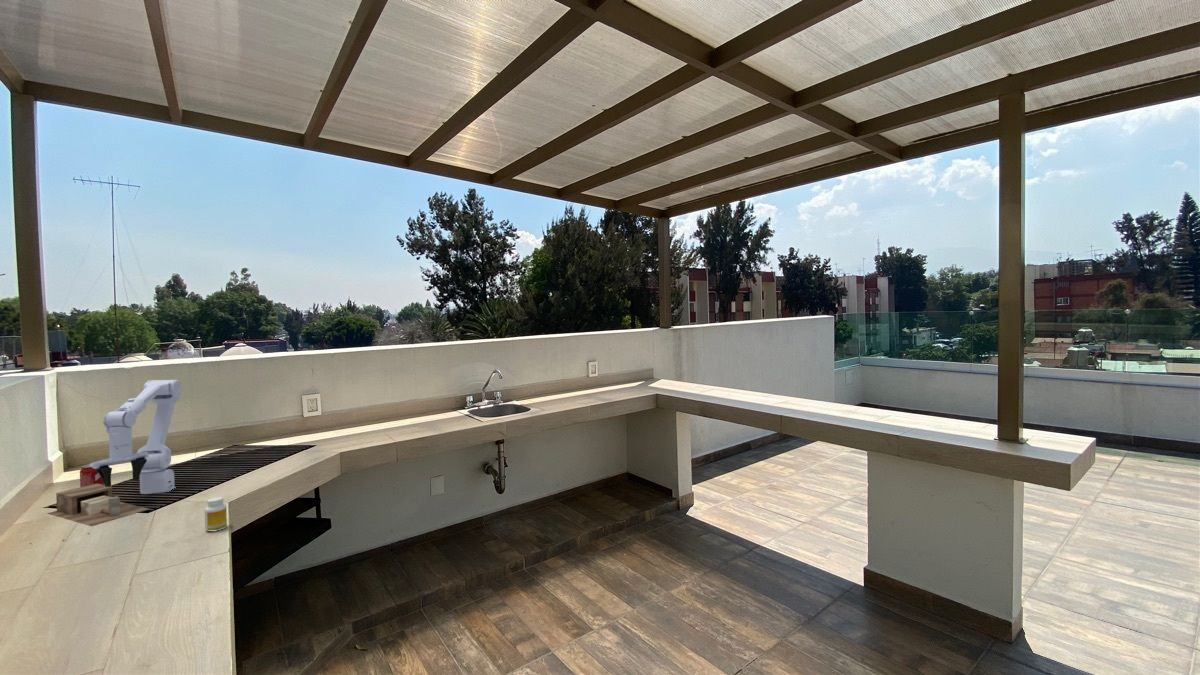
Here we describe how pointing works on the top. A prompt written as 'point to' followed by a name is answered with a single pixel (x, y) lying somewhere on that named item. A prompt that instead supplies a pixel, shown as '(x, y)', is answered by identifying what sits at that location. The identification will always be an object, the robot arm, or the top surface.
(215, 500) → the supplement bottle
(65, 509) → the walnut shelf
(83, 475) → the soda can
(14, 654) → the top surface
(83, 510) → the grey handled cream block
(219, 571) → the top surface
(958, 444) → the top surface
